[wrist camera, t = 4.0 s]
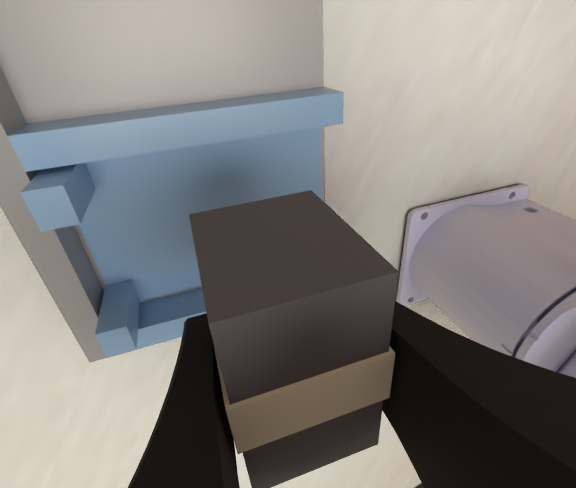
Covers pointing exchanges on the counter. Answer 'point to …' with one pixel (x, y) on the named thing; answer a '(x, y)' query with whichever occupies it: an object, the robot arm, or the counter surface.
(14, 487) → the counter surface
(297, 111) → the board
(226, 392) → the dark striped block
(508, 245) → the robot arm
